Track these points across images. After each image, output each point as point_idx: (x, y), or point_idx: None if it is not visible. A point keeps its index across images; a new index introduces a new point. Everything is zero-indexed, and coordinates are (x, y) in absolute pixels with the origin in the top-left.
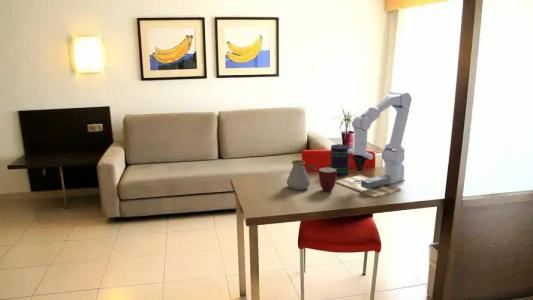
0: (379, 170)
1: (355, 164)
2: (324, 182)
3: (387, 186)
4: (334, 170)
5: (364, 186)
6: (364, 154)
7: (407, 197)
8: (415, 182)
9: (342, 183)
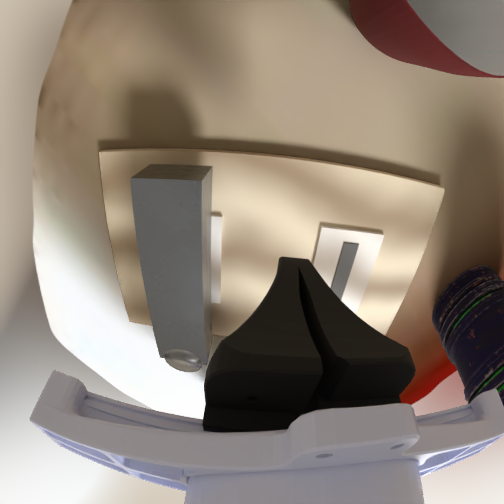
0: None
1: (333, 295)
2: None
3: None
4: (456, 63)
5: (175, 167)
6: (107, 447)
7: (64, 271)
8: (184, 395)
9: (392, 176)
